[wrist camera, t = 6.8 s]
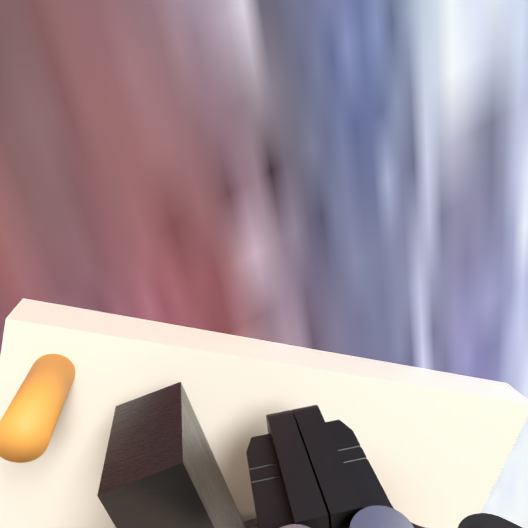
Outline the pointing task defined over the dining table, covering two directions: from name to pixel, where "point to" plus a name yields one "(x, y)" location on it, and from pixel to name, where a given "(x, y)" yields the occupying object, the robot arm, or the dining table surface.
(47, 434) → the dial base
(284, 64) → the dining table surface
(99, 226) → the dining table surface
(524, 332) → the dining table surface
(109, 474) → the dial
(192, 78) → the dining table surface
